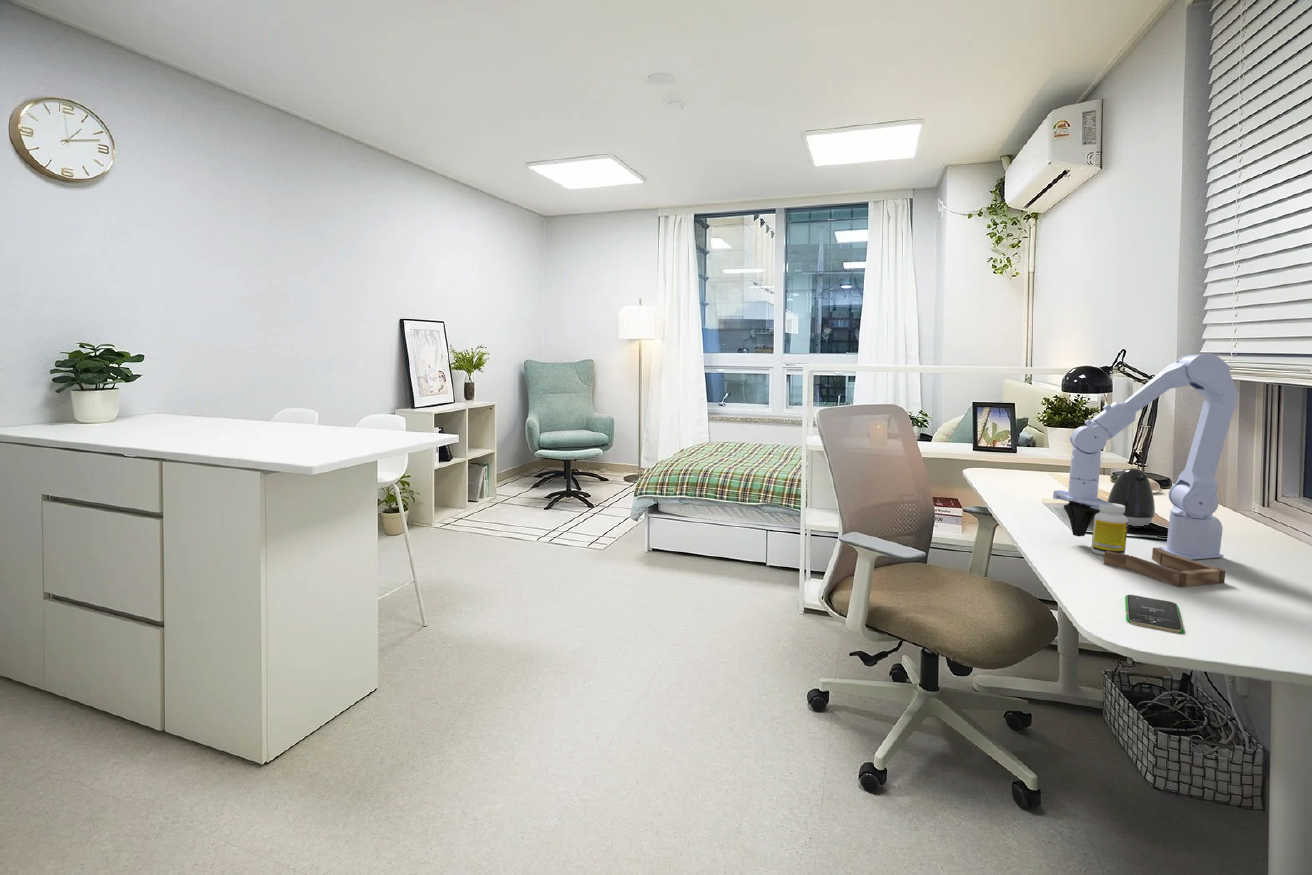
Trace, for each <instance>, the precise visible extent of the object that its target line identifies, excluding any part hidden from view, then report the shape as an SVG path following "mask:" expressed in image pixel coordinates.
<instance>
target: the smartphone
mask: <svg viewBox="0 0 1312 875" xmlns="http://www.w3.org/2000/svg"><path fill="white" fill-rule="evenodd" d="M1124 598H1125V599H1124V600H1125V603H1124V605H1125V604H1126V605H1125V621H1126V620H1127V621H1128V622H1129V623H1132V624H1131V625H1133V624H1137V625H1136V626H1138V625H1142V626H1141V627H1144V626H1145V627H1144V628H1149V627H1150V628H1149V629H1154V630H1159V629H1161V631H1164V630H1166V631H1165V632H1169V631H1171V632H1170V633H1174V632H1175V633H1176V634H1184V633H1185V629H1184V626H1183V623H1182V616H1181V612H1180V609H1179V606H1178V604H1177V603H1175V602H1174V601H1173V602H1172V601H1169V600H1163V599H1159V598H1153V597H1145V596H1141V595H1140V596H1139V595H1135V594H1127V595H1125V596H1124ZM1127 621H1126V622H1127ZM1128 622H1127V623H1128ZM1129 623H1128V624H1129Z"/></svg>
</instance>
